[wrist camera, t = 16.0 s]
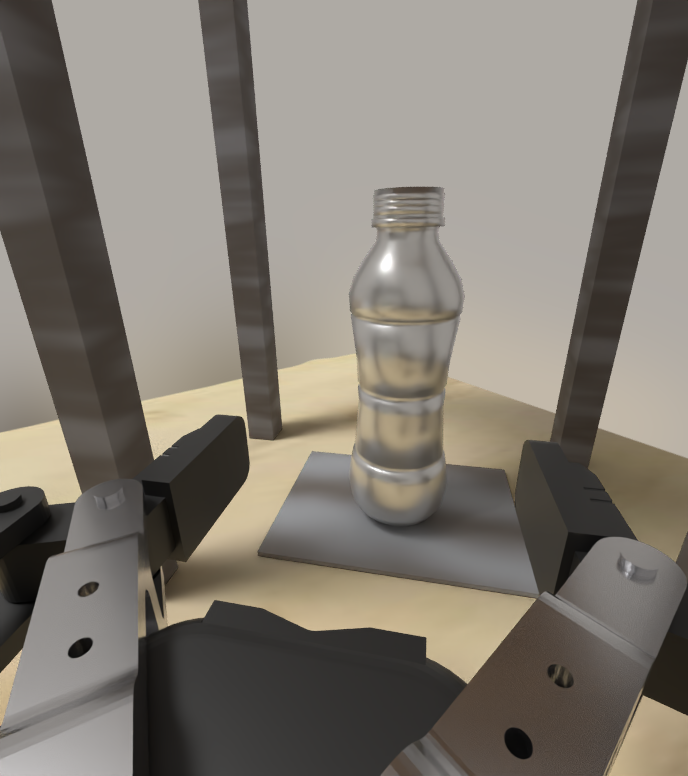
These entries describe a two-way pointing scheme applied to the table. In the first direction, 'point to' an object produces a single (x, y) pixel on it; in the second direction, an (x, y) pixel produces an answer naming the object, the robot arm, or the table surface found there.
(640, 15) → the counter stand
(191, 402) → the table surface
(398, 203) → the plastic bottle
